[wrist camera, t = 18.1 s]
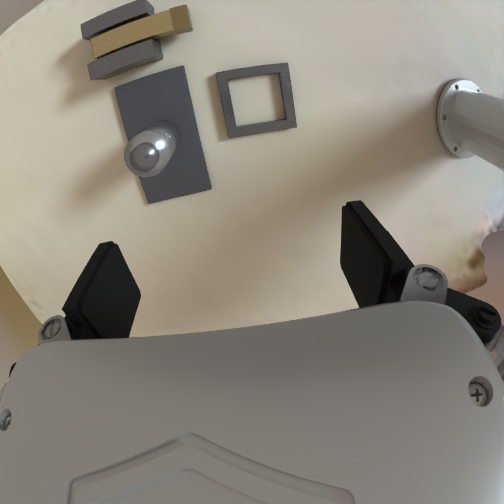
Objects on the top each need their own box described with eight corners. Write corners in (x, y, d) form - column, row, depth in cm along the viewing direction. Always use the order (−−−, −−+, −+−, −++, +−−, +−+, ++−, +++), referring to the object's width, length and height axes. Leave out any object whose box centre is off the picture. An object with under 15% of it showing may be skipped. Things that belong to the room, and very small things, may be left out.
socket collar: (286, 63, 25) (287, 62, 24) (295, 126, 29) (296, 127, 29) (216, 73, 25) (215, 72, 24) (228, 136, 29) (228, 138, 29)
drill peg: (175, 115, 27) (158, 128, 19) (185, 148, 29) (172, 173, 22) (141, 126, 27) (114, 145, 20) (152, 158, 29) (130, 187, 22)
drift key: (189, 10, 19) (186, 4, 17) (193, 30, 21) (190, 26, 19) (99, 40, 20) (90, 38, 17) (103, 60, 21) (94, 59, 19)
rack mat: (183, 65, 24) (183, 65, 24) (211, 187, 33) (211, 189, 32) (115, 87, 24) (114, 87, 24) (149, 202, 33) (148, 203, 32)
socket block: (153, 6, 19) (144, -3, 16) (163, 58, 23) (155, 55, 20) (95, 29, 19) (80, 24, 16) (105, 79, 23) (90, 80, 20)
